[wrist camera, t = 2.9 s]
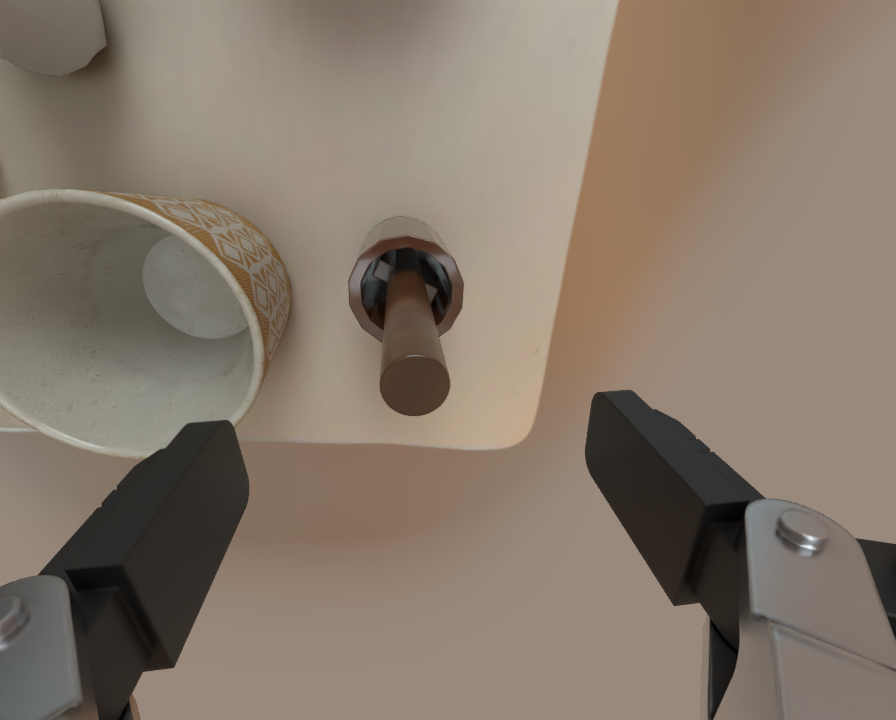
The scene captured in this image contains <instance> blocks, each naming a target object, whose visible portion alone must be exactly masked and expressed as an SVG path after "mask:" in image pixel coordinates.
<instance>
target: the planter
mask: <svg viewBox="0 0 896 720" xmlns="http://www.w3.org/2000/svg"><path fill="white" fill-rule="evenodd" d="M290 307H291V290H290V283H289V279H288V275H287V272H286V269H285V266H284V264H283V262H282V260H281V258H280V256H279V254H278V253H277V251H276V250H275V248H274V247H273V245H272V244H271V243H270V241H269V240H268V239H267V238H266V237H265V236H264V235H263V234H262V233H261V232H260V231H259V230H258V229H257V228H256V227H255V226H254V225H252V224H251V223H250V222H249V221H247V220H246V219H244V218H243V217H241V216H240V215H238V214H236V213H235V212H233V211H231V210H229V209H227V208H225V207H222V206H220V205H217V204H214V203H211V202H208V201H204V200H199V199H193V198H183V197H170V196H156V195H143V194H129V193H115V192H102V191H88V190H75V189H44V190H36V191H29V192H24V193H20V194H16V195H13V196H9V197H6V198H3V199H1V200H0V406H2V407H3V408H4V409H5V410H7V411H8V412H9V413H11V414H12V415H13V416H15V417H16V418H18V419H19V420H20V421H22V422H24V423H25V424H27V425H28V426H30V427H32V428H33V429H35V430H37V431H39V432H41V433H43V434H45V435H47V436H49V437H51V438H53V439H55V440H57V441H60V442H62V443H65V444H67V445H70V446H73V447H75V448H79V449H82V450H86V451H88V452H93V453H97V454H101V455H106V456H112V457H119V458H130V459H146V458H147V457H149V456H150V455H152V454H153V453H155V452H156V451H158V450H159V449H164V448H166V447H167V446H168V445H169V443H170V442H171V441H172V440H173V439H174V437H175V436H176V435H177V434H178V433H179V431H180V430H181V429H182V428H183V427H184V426H185V425H186V424H187V423H191V422H204V421H217V420H229V421H230V422H231V423H232V425H233V427H234V428H235V427H236V426H237V425H238V424H239V423H240V422H241V421H242V419H243V418H244V417H245V416H246V415H247V413H248V412H249V410H250V409H251V407H252V405H253V403H254V402H255V400H256V397H257V395H258V393H259V390H260V388H261V385H262V383H263V380H264V378H265V375H266V373H267V371H268V368H269V366H270V363H271V361H272V358H273V356H274V353H275V351H276V348H277V346H278V343H279V341H280V338H281V336H282V334H283V331H284V329H285V326H286V324H287V321H288V317H289V313H290Z"/></svg>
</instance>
